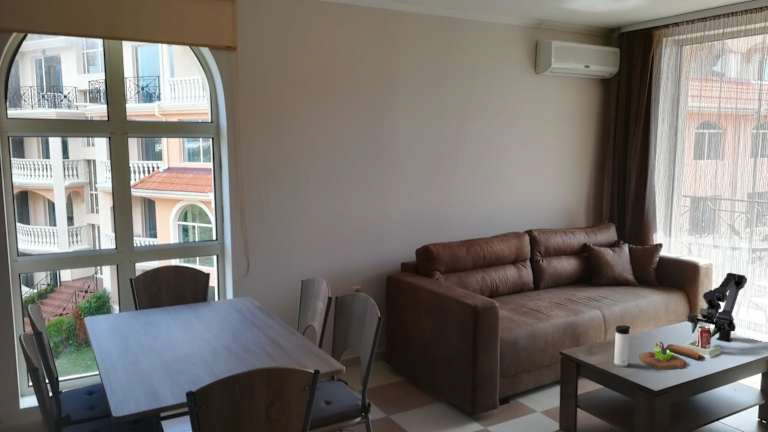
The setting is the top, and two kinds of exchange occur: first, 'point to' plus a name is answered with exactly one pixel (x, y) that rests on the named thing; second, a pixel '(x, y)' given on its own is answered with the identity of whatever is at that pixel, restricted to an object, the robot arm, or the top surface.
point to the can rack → (704, 352)
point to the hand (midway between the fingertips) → (701, 335)
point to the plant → (662, 358)
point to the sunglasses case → (686, 352)
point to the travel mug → (621, 346)
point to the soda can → (703, 337)
